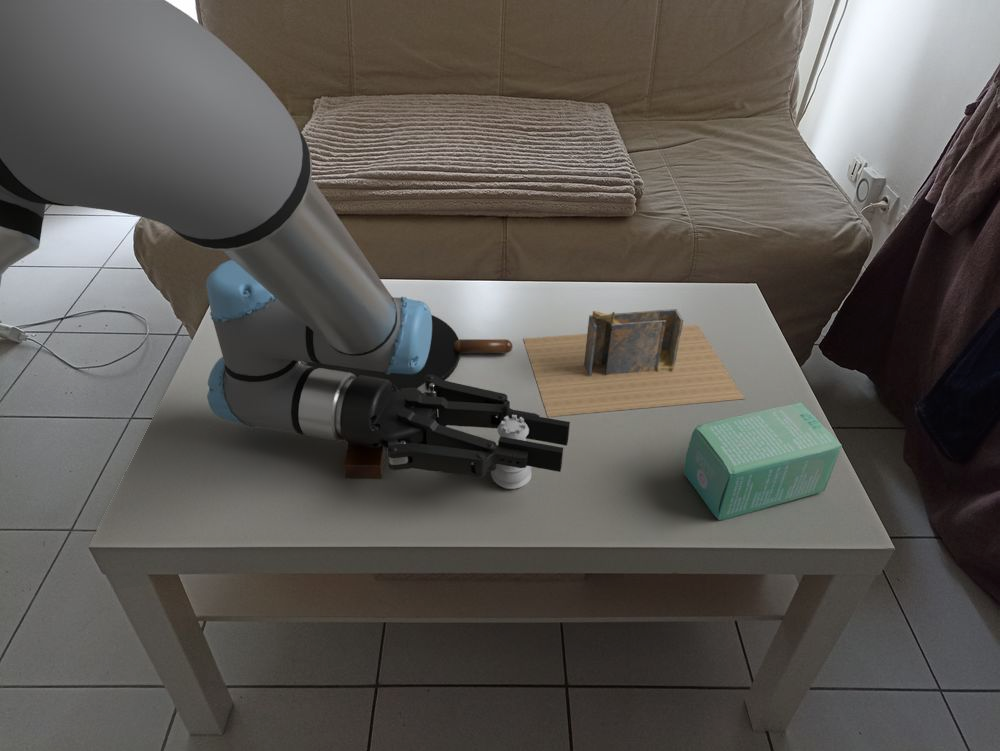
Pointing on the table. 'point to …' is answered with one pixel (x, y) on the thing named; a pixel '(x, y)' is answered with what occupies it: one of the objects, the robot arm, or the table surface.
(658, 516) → the table surface
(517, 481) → the rook chess piece
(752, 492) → the box
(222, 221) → the robot arm
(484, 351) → the pan
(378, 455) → the block
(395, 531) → the table surface
